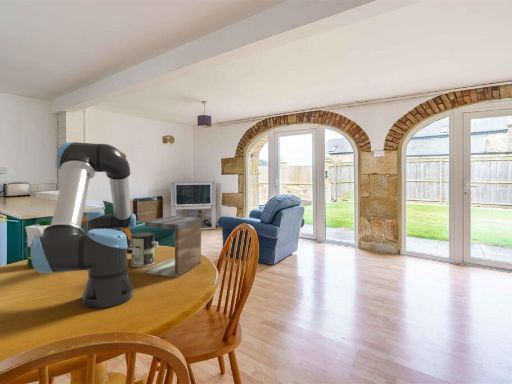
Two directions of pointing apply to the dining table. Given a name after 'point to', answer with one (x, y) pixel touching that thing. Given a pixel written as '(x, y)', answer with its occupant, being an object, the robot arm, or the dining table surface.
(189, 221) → the brown piece
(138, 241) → the coffee can
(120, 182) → the robot arm
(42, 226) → the milk carton
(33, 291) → the dining table surface
